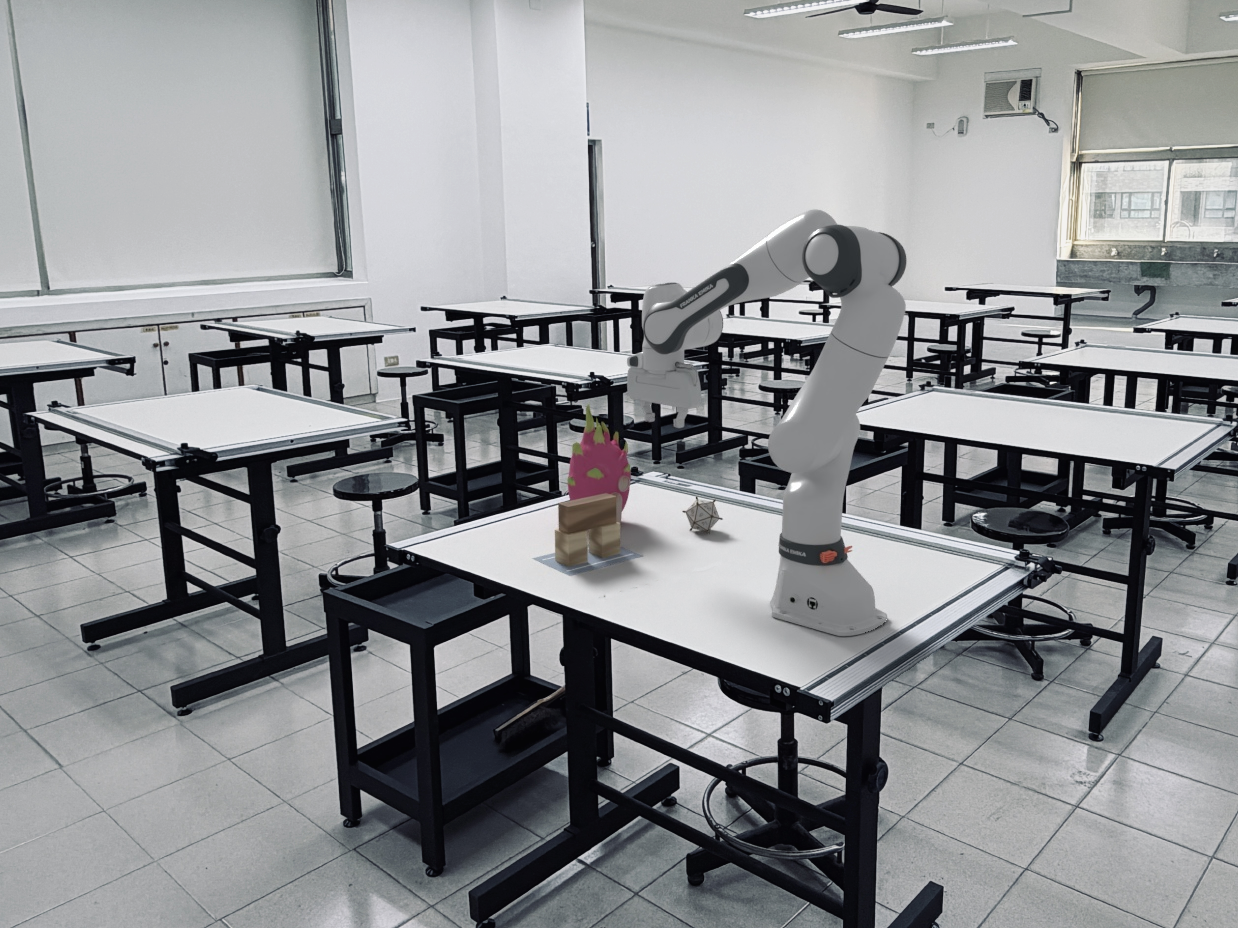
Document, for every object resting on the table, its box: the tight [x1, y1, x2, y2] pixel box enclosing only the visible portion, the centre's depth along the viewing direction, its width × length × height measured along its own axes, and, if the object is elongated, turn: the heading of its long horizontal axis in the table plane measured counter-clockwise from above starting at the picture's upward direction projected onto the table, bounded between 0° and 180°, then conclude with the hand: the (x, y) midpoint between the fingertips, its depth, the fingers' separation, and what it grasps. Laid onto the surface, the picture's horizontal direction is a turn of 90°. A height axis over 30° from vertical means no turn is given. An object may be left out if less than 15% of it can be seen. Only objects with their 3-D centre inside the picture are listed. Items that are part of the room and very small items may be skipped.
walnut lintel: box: [557, 493, 616, 534], centre depth 221 cm, size 4×13×6 cm, turn 129°
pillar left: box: [554, 528, 589, 567], centre depth 220 cm, size 5×5×7 cm
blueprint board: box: [531, 543, 644, 577], centre depth 224 cm, size 14×20×1 cm
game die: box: [681, 495, 724, 535], centre depth 243 cm, size 9×8×10 cm
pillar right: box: [587, 522, 621, 558], centre depth 225 cm, size 5×5×7 cm
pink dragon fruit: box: [567, 403, 632, 523], centre depth 244 cm, size 18×14×30 cm
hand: (664, 424), depth 220 cm, fingers open, 8 cm apart
